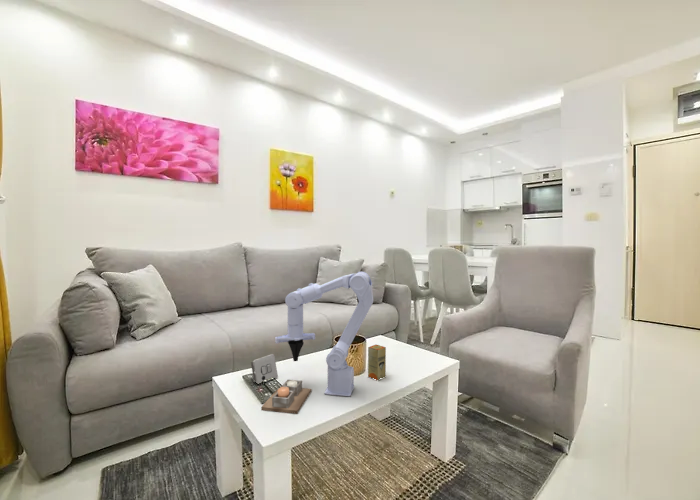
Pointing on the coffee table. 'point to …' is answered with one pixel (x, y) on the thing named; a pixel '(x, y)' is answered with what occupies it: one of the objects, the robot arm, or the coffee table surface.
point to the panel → (288, 399)
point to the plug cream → (292, 383)
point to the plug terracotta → (283, 392)
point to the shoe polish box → (376, 362)
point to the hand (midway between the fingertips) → (295, 360)
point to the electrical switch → (264, 368)
